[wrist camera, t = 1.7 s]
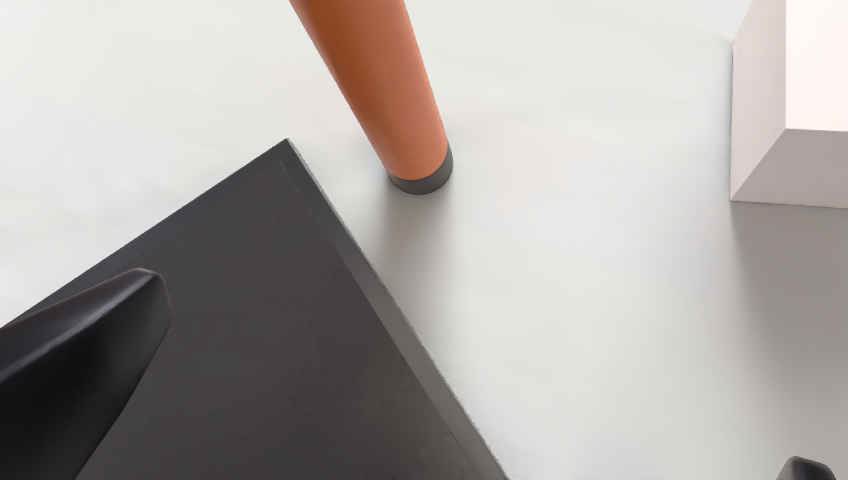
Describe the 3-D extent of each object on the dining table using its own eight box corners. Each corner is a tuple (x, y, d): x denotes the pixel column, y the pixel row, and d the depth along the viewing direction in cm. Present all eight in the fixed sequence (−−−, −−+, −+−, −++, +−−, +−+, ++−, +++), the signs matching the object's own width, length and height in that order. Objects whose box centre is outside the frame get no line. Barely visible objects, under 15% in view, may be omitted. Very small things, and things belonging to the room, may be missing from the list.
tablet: (620, 651, 22) (623, 659, 21) (253, 903, 22) (241, 922, 21) (293, 145, 28) (286, 135, 27) (4, 337, 28) (-12, 334, 27)
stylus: (410, 207, 26) (294, 0, 14) (376, 156, 27) (236, -83, 15) (465, 170, 26) (398, -69, 14) (429, 121, 27) (335, -147, 15)
